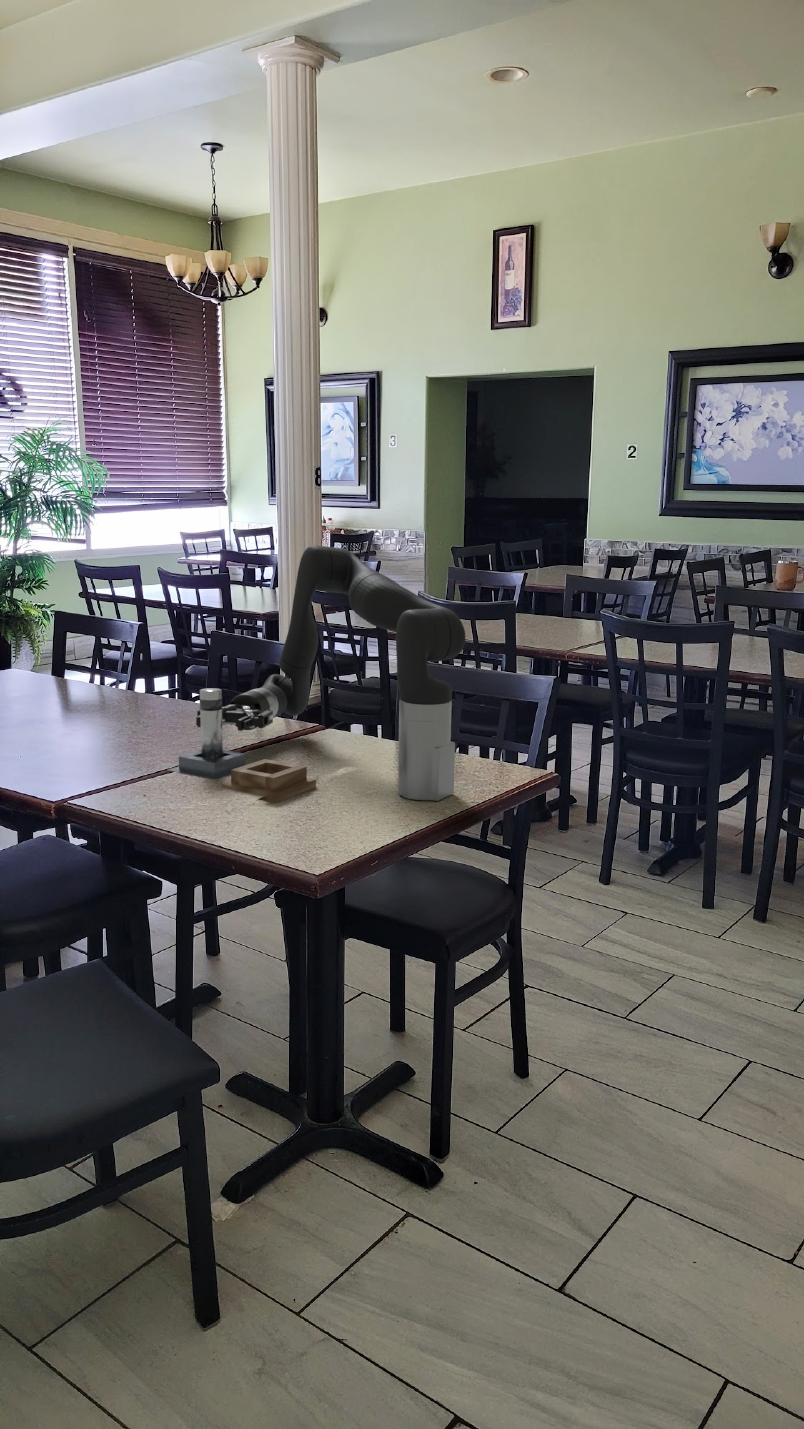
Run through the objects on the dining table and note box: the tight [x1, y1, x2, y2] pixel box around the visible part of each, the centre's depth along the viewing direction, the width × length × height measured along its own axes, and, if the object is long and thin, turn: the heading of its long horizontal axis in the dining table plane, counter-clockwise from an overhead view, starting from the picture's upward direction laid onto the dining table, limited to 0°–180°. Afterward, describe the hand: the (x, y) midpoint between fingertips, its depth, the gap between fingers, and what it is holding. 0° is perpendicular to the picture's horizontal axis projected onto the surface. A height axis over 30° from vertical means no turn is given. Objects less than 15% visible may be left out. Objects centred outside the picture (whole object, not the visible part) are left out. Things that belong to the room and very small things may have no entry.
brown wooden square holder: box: [221, 758, 317, 804], centre depth 187 cm, size 12×12×4 cm
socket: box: [167, 749, 249, 781], centre depth 198 cm, size 12×12×4 cm
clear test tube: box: [199, 687, 224, 760], centre depth 196 cm, size 4×4×15 cm
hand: (219, 723), depth 199 cm, fingers open, 8 cm apart
